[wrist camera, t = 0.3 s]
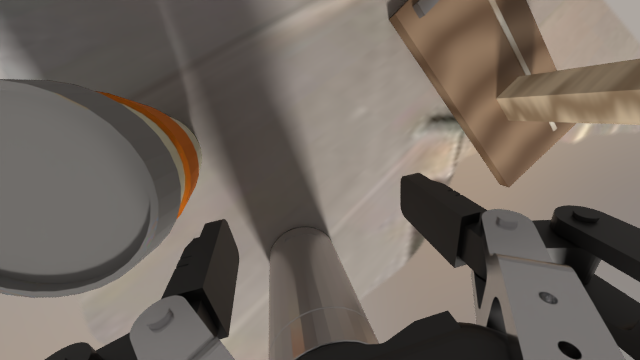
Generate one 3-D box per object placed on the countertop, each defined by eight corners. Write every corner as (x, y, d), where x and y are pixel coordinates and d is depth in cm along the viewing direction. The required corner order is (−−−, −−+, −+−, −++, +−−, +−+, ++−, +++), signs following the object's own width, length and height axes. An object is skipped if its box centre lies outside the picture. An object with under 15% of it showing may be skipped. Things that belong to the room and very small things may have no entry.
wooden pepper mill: (530, 99, 32) (709, 90, 19) (508, 120, 33) (670, 125, 19) (518, 76, 31) (702, 49, 18) (496, 98, 31) (661, 88, 18)
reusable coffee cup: (236, 183, 29) (203, 250, 15) (135, 221, 28) (-5, 334, 14) (185, 78, 25) (73, 34, 11) (64, 118, 24) (-238, 127, 10)
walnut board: (566, 120, 36) (587, 121, 34) (499, 184, 37) (515, 189, 35) (477, -74, 26) (497, -92, 24) (388, 19, 27) (400, 10, 25)
